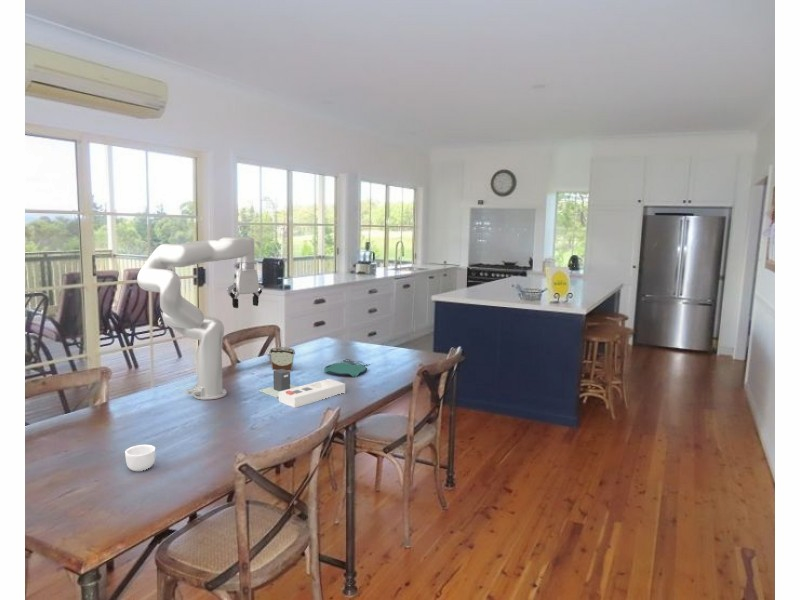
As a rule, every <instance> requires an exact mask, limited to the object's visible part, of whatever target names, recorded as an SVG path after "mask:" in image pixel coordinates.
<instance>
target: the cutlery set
mask: <svg viewBox="0 0 800 600" xmlns="http://www.w3.org/2000/svg"><path fill="white" fill-rule="evenodd" d="M346 360H352V359H351V358H345V359H343V361H344V362H343V361H340V362H335V363H332V364H329V365H327V366H325V367H324V369H323V371H324V372H325V373H330V374H333V375H337V376H351V377H352V378H355V377H354V376H356V377H357V376H359V375H362V374H363V373H366V372H367V371H368V367H365V366H363V365H361V364H358V365H357V363H352V362H353V361H346Z"/></svg>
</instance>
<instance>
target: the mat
mask: <svg viewBox="0 0 800 600" xmlns="http://www.w3.org/2000/svg"><path fill="white" fill-rule="evenodd" d="M295 387H297V386H296V385H293V384H291V383H290V389H291V388H295ZM259 392H260V393H263V394H266V395H268V396H271V397H274V398H275V399H279V391H277V390H274V386H271V387H267V388H262V389H259Z"/></svg>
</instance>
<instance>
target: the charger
mask: <svg viewBox="0 0 800 600" xmlns="http://www.w3.org/2000/svg"><path fill="white" fill-rule="evenodd" d="M290 384H291V371H287V370H284V369H279V370H273V387H274V390H277V391H283V390H287V389H290Z"/></svg>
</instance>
